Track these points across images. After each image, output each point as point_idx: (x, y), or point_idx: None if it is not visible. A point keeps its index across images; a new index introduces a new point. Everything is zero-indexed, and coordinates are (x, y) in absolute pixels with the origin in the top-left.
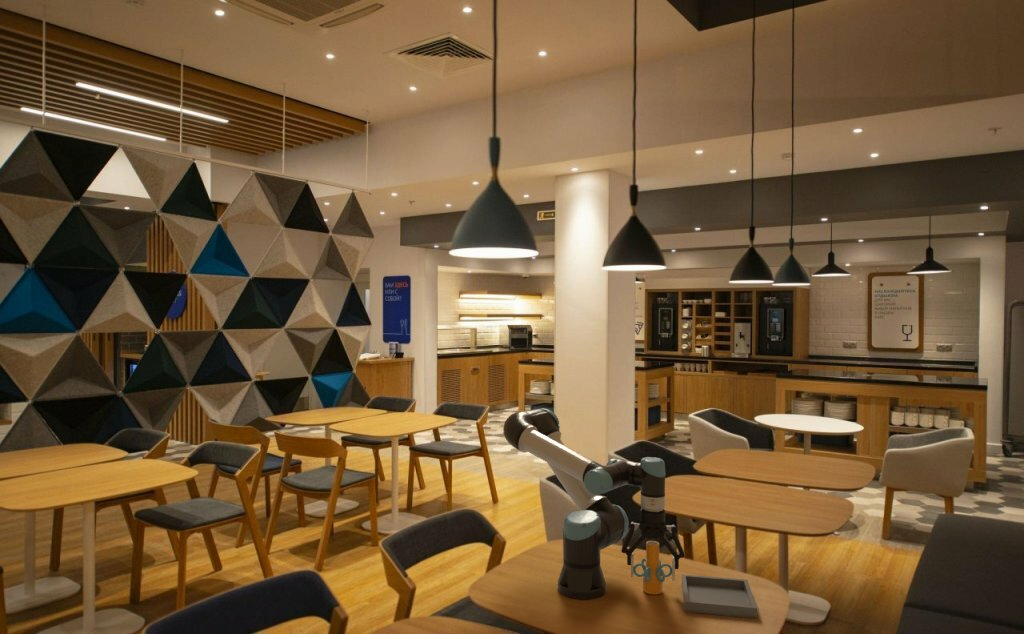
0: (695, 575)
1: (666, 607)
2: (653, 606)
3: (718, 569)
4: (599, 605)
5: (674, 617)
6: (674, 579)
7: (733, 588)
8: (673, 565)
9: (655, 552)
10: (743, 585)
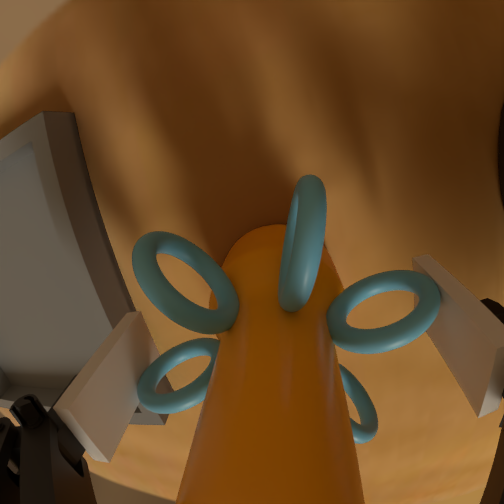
0: None
1: (157, 109)
2: (225, 84)
3: (127, 482)
4: (474, 16)
5: (104, 33)
6: (125, 316)
7: (25, 381)
8: (84, 374)
9: (205, 466)
10: (7, 390)
